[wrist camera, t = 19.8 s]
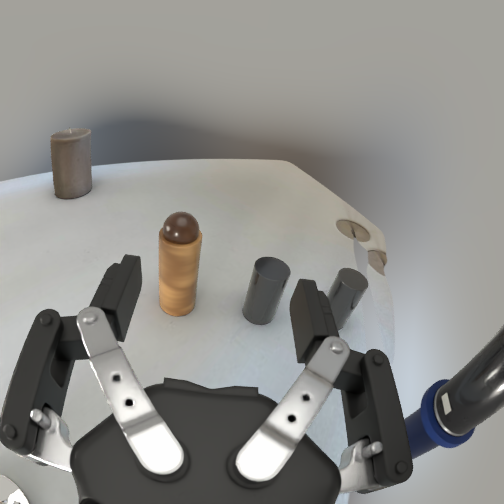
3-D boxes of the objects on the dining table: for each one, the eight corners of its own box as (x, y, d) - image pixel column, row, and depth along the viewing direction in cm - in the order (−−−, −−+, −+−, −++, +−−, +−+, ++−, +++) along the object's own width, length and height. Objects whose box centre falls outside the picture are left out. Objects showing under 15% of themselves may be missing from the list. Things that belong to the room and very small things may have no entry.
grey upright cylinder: (272, 302, 41) (288, 259, 36) (275, 326, 37) (293, 283, 32) (242, 299, 40) (253, 254, 35) (242, 323, 36) (255, 278, 32)
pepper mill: (196, 292, 39) (206, 206, 31) (192, 318, 35) (202, 229, 27) (163, 287, 38) (165, 201, 31) (156, 313, 35) (154, 222, 27)
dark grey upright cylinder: (340, 309, 42) (362, 269, 38) (347, 330, 39) (372, 291, 34) (314, 306, 42) (334, 266, 37) (320, 329, 38) (343, 288, 33)
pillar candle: (51, 201, 49) (45, 135, 41) (58, 183, 56) (55, 125, 48) (90, 197, 54) (88, 130, 45) (94, 179, 60) (94, 121, 52)
